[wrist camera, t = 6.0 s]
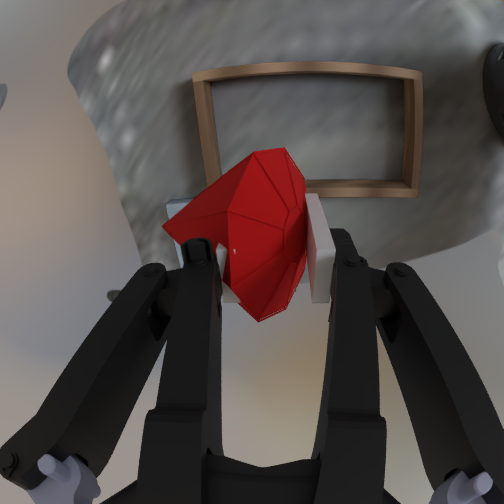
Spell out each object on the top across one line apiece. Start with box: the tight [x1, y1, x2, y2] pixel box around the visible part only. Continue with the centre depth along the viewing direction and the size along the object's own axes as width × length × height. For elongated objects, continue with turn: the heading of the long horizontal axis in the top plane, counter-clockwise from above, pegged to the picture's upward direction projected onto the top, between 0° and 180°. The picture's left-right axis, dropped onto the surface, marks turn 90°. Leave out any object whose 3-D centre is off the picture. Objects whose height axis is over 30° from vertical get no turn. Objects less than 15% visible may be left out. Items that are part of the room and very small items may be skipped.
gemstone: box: [162, 147, 307, 322], centre depth 17 cm, size 9×9×10 cm
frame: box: [192, 61, 423, 198], centre depth 26 cm, size 23×14×3 cm, turn 95°
